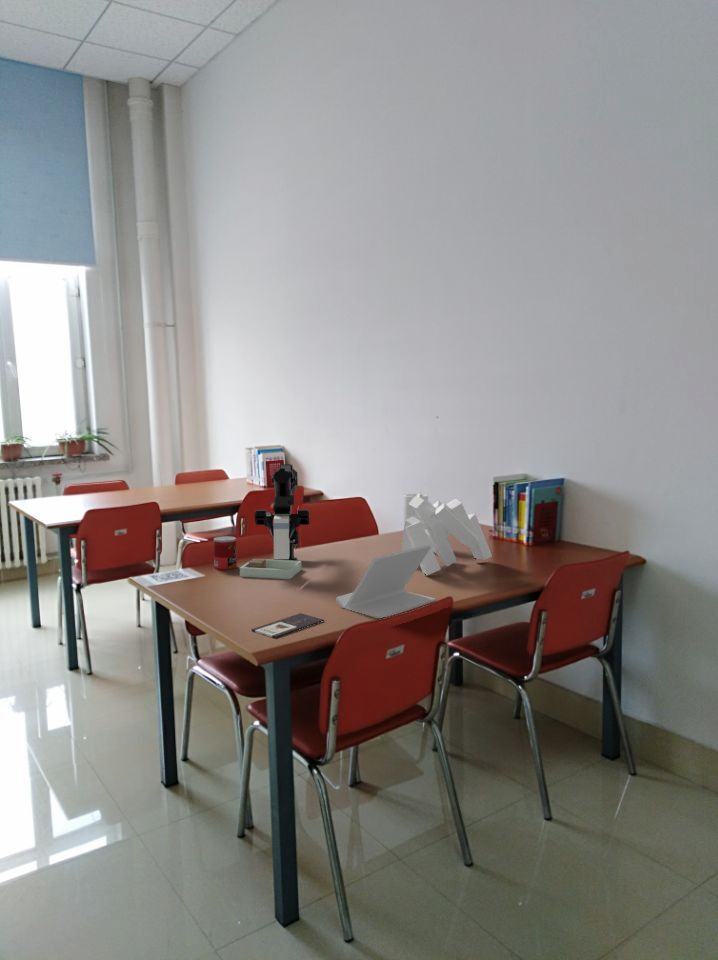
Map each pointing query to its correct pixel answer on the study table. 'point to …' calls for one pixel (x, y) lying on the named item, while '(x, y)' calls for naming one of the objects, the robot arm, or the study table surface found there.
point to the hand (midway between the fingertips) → (281, 537)
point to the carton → (281, 537)
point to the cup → (407, 509)
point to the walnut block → (257, 563)
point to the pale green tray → (272, 569)
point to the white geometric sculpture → (442, 532)
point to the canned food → (225, 553)
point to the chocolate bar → (286, 625)
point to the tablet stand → (387, 585)
